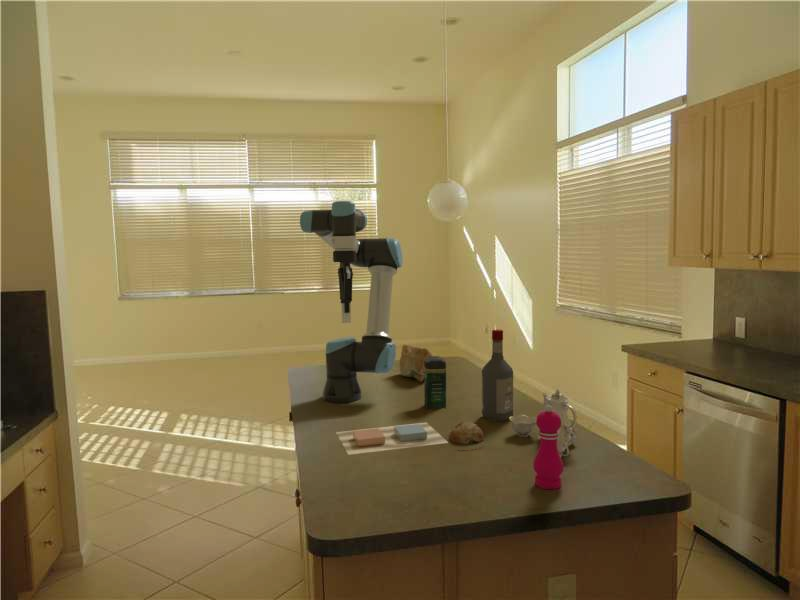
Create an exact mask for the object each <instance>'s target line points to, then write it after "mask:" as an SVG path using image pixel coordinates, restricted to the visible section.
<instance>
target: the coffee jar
mask: <svg viewBox="0 0 800 600" xmlns="http://www.w3.org/2000/svg"><path fill="white" fill-rule="evenodd" d="M423 382H424V388H423V389H424V394H423V396H424V397H423V398H424V399H423V400H424V407H425V408H426V409H427V410H431V409H434V410H435V409H442V408H443V409H446V408H447V361H446V360H445V359H444V358H443V357H440V355H435V356H434V355H433V356H429V357H428V358H426V359H425V361H424V380H423Z"/></svg>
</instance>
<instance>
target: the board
mask: <svg viewBox="0 0 800 600" xmlns="http://www.w3.org/2000/svg"><path fill="white" fill-rule="evenodd" d="M413 424H414V423H411V424H410V423H409V424H406V425H413ZM415 424H419V425H420V426H421V427H422V428H423V429H425V430H426V431H427V438H426V439H417V440H409V441H401V440H400V439H399V438H398V437H397V436H396V434H395V433H394V427H395V426H396V425H391V426H382V427H378V428H379V430H380V431H381V432H382V433H383V435H384V436H385V443H383V444H375V445H366V446H358V445H357V443H356V442H355V440H354V438H353V431H358V430H359V429H354V430H345V431H335V433H336V435H337V437H338V439H339V441H340V443H341V445H342V446H343V449H344V450H345V451H346V453H347V455H348V456H351V455H361V454H368V453H376V452H384V451H391V450H392V451H393V450H401V449H410V448H417V447H426V446H434V445H441V444H442V445H443V444H449V442H448V441H447V440H446V439H445V437H443V436H442V435H441V434H440V433H439V432H438V431H437V430H436V429H434V428H433V427H432V426H431V425H430V424H429V423H428V422H420V423H419V422H417V423H415ZM404 425H405V424H400V425H398V424H397V426H404ZM376 428H377V427H372V428H370V429H376ZM367 429H368V428H363V429H361V430H367Z"/></svg>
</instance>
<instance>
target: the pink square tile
mask: <svg viewBox="0 0 800 600" xmlns="http://www.w3.org/2000/svg"><path fill="white" fill-rule="evenodd" d="M375 428H376V429H371V428H366V429H367V430H362V429H357V430H358V431H353V430H352V431H353V438H354V440H355V442H356V443H357V445H358V446H366V445H375V444H383V443H385V436H384V435H383V433H382V432H381V431H380V430H379V428H380V427H375Z"/></svg>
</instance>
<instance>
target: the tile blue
mask: <svg viewBox="0 0 800 600" xmlns="http://www.w3.org/2000/svg"><path fill="white" fill-rule="evenodd" d="M412 424H413V425H407V424H403V425H404V426H398V425H394V426H395V427H394V433H395V434H396V436H397V437H398V438H399V439H400V440H401V441H409V440H417V439H426V438H427V431H426V430H425V429H423V428H422V427H421V426H420V425H419V424H416V423H412Z"/></svg>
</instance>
